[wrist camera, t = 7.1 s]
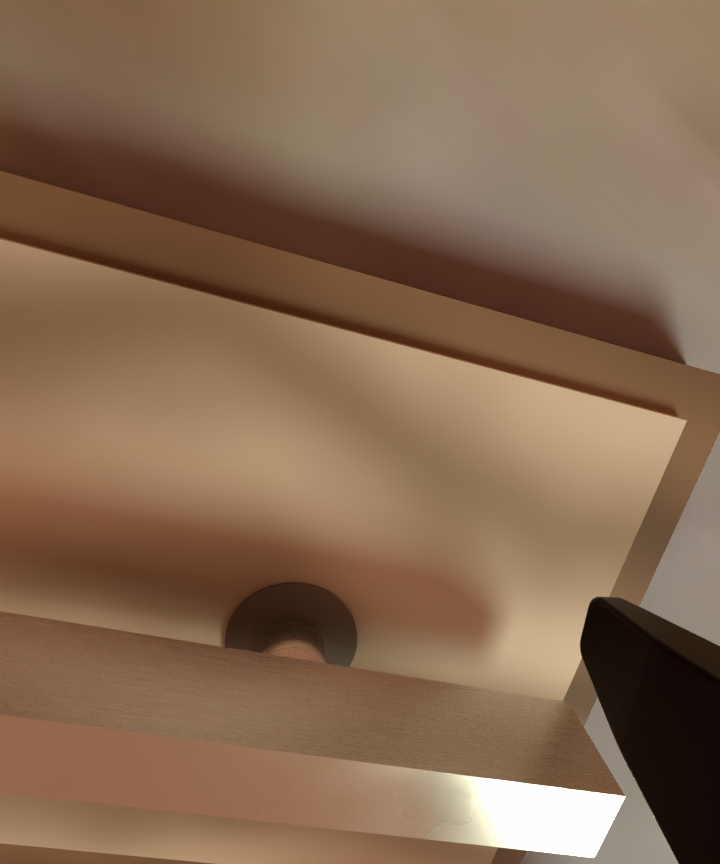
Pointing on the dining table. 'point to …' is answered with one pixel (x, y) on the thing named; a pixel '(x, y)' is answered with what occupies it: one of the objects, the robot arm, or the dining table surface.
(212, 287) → the brown square tray
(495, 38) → the dining table surface
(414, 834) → the T-key
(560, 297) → the dining table surface
